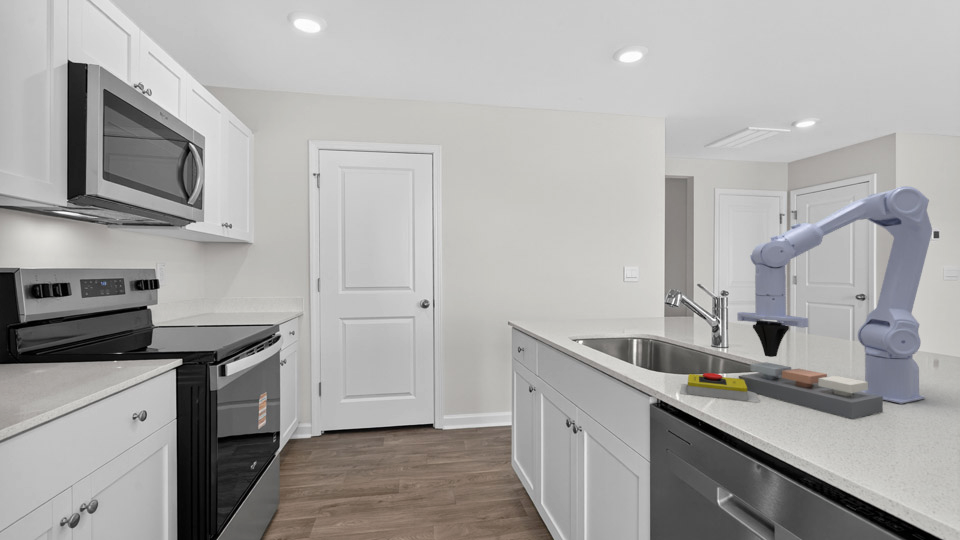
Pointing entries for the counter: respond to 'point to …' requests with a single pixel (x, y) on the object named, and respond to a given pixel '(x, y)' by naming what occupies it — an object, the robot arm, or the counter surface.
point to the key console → (815, 396)
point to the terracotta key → (803, 376)
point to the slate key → (769, 369)
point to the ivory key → (843, 385)
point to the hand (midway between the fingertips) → (770, 356)
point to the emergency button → (718, 388)
